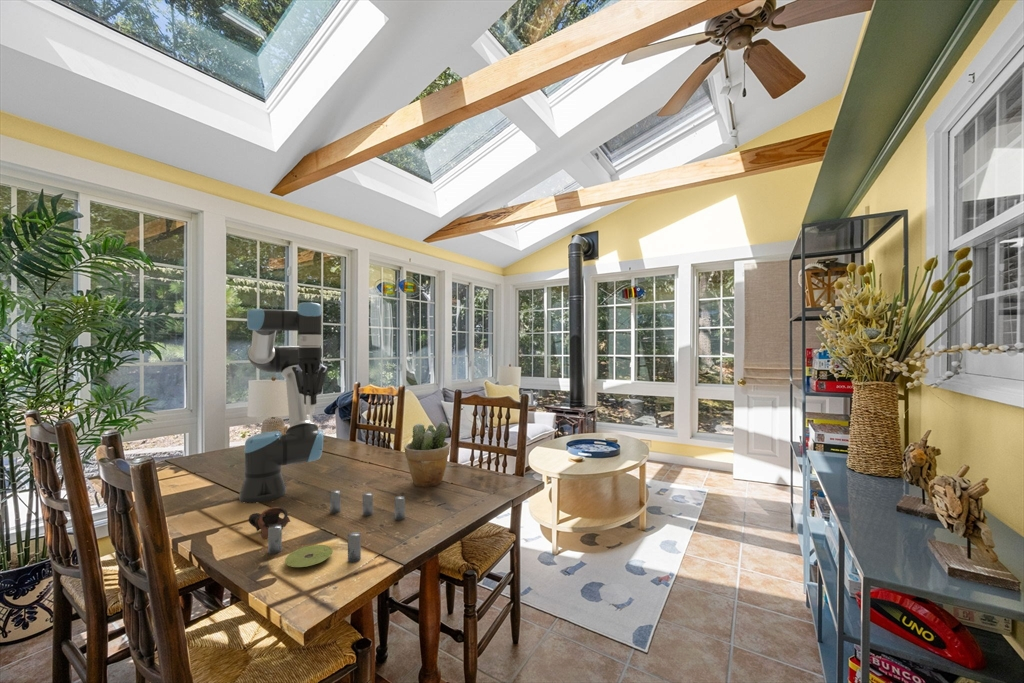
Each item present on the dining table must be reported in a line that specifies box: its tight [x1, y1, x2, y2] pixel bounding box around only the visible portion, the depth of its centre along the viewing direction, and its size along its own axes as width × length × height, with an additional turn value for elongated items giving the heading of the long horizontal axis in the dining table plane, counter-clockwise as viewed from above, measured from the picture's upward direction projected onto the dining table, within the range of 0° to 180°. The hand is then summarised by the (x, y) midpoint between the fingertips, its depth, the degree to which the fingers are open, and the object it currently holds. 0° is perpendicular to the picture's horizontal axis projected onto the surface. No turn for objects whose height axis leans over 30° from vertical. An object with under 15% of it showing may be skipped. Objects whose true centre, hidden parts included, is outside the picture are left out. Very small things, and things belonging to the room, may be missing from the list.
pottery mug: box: [248, 506, 291, 540], centre depth 125 cm, size 12×9×8 cm
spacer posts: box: [267, 489, 406, 564], centre depth 125 cm, size 27×30×7 cm
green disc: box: [284, 544, 334, 568], centre depth 109 cm, size 11×11×2 cm
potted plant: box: [403, 421, 451, 488], centre depth 169 cm, size 18×19×25 cm
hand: (310, 413), depth 146 cm, fingers closed
